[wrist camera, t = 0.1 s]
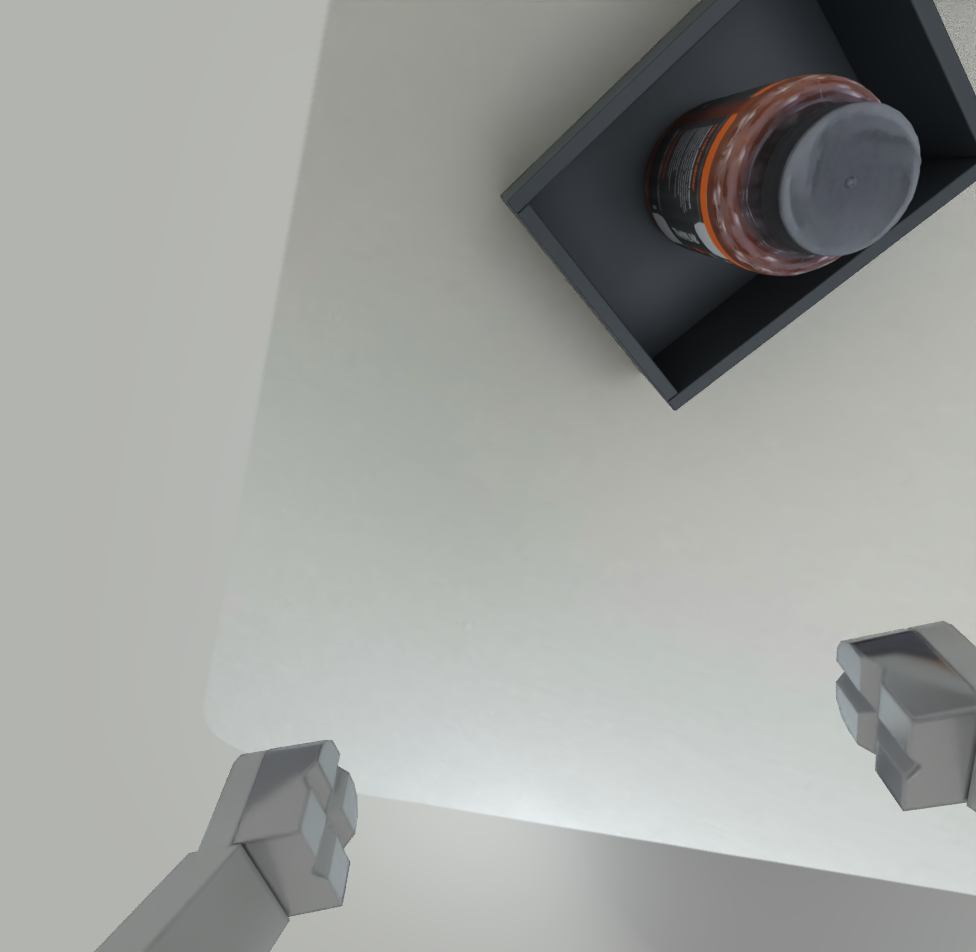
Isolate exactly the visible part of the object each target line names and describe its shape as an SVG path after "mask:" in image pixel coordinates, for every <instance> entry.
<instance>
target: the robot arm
mask: <svg viewBox="0 0 976 952" xmlns="http://www.w3.org/2000/svg"><path fill="white" fill-rule="evenodd" d="M836 661H837V662H838V663H839V665H840V666H841V667H842V669H843V670H844V673H843V674H842V675H841V676H840V678H839V679H838V680H837V681H836V699H837V703H838V706H839V710H840V713H841V716H842V718H843V720H844V722H845V725H846V727H847V729H848V730H849V732H850V734H851V735H852V737H853V738H854V740H855V741H856V743H857V744H858V745H860V746H861V747H863V748H865V749H867V750H868V751H870V752H872V753H874V754H876V765H875V771H876V772H877V774H878V775H879V777H880V778H881V779H882V781H883V782H884V784H885V785H886V787H887V788H888V790H889V791H890V793H891V794H892V795H893V797H894V798H895V800H896V801H897V803H898V804H899V806H900V807H901V809H902V810H903V811H909V810H916V809H923V808H930V807H937V806H945V805H952V804H959V803H966V802H967V806H968V807H969V808H971V809H972V810H974V811H975V812H976V646H974V645H973V644H972V643H971V642H970V641H969V640H968V639H967V638H966V637H965V636H964V635H963V634H961V633H960V632H959V631H958V630H957V629H956V628H955V627H954V626H953V625H951V624H949V623H947V622H944V621H940V622H935V623H930V624H925V625H920V626H915V627H910V628H908V629H899V630H894V631H889V632H884V633H879V634H874V635H869V636H864V637H860V638H855V639H850V640H845V641H841V642H840V643H839V645H838V647H837V659H836ZM339 757H340V753H339V751H338V749H337V747H336V746H335V744H334V742H333V740H323V741H317V742H311V743H305V744H298V745H292V746H286V747H280V748H274V749H270V750H265V751H259V752H253V753H247V754H242V755H240V756H239V758H238V759H237V760H236V761H235V762H234V763H233V766H232V768H231V770H230V773H229V775H228V778H227V780H226V783H225V785H224V788H223V790H222V793H221V795H220V798H219V800H218V803H217V805H216V807H215V810H214V812H213V815H212V818H211V820H210V822H209V825H208V827H207V830H206V832H205V835H204V837H203V840H202V842H201V845H200V847H199V850H198V851H197V852H192V853H189V854H188V855H187V856H186V857H185V858H184V859H183V860H182V861H181V862H180V863H179V864H178V865H177V866H176V867H175V868H174V869H173V870H172V871H171V872H170V874H168V875H167V876H166V878H165V879H164V880H163V881H162V882H161V883H160V884H159V885H158V886H157V887H156V888H155V889H154V890H153V891H152V892H151V893H150V894H149V895H148V896H147V897H146V898H145V899H144V900H143V901H142V903H141V904H140V905H139V906H138V907H137V908H136V909H135V910H134V911H133V912H132V913H131V914H130V915H129V916H128V917H127V919H125V920H124V921H123V922H122V923H121V925H119V926H118V928H117V929H116V930H115V931H114V932H113V933H112V934H111V935H110V936H109V937H108V938H107V939H106V940H105V941H104V942H103V943H102V944H101V945H100V946H99V948H97V949H96V950H95V951H94V952H270V950H271V949H272V947H273V946H274V944H275V943H276V941H277V939H278V938H279V936H280V935H281V933H282V932H283V930H284V928H285V927H286V925H287V924H288V922H289V917H290V916H295V915H300V914H304V913H310V912H315V911H320V910H325V909H330V908H335V907H340V906H342V905H343V899H344V893H345V888H346V882H347V877H348V871H349V866H350V861H349V859H348V857H347V855H346V853H345V851H344V847H345V846H346V845H347V844H348V842H349V841H350V840H351V838H352V837H353V836H354V834H355V830H356V823H357V818H358V808H357V794H356V790H355V785H354V782H353V780H352V778H351V776H350V773H349V772H347V771H346V770H344V769H342V768H340V767H338V762H339Z"/></svg>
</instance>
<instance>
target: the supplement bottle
mask: <svg viewBox="0 0 976 952" xmlns="http://www.w3.org/2000/svg"><path fill="white" fill-rule="evenodd" d="M920 165H921V156H920V145H919V140H918V136H917V135H916V133H915V131H914V128H913V127H912V125H911V123H910V122H909V121H908V120H907V119H906V118H905V116H904V115H903V114H902V113H901V112H900V111H898V110H896V109H894V108H892V107H890V106H889V105H887V104H884V103H881V102H880V100H879V99H878V98H877V97H876V96H875V95H874V94H873V93H872V92H871V91H869V90H868V89H866V88H865V87H864V86H863V85H861V84H860V83H858V82H856V81H853V80H850V79H849V78H845V77H841V76H837V75H830V74H809V75H802V76H797V77H793V78H789V79H785V80H781V81H778V82H774V83H771V84H767V85H763V86H760V87H756V88H752V89H749V90H746V91H743V92H739V93H735V94H731V95H729V96H725V97H722V98H718V99H715V100H711V101H708V102H705V103H702V104H701V105H699V106H697V107H695V108H693V109H691V110H689V111H688V112H686V113H684V114H683V115H682V116H680V117H679V118H678V119H677V120H676V121H674V122H673V123H672V124H671V125H670V126H669V128H668V129H667V130H666V131H665V132H664V133H663V135H662V136H661V138H660V139H659V141H658V142H657V144H656V146H655V148H654V150H653V153H652V155H651V158H650V160H649V164H648V168H647V172H646V180H645V194H646V202H647V206H648V209H649V212H650V214H651V217H652V219H653V221H654V223H655V225H656V226H657V227H658V228H659V230H660V231H661V232H662V233H663V234H664V235H665V236H666V237H667V238H668V239H670V240H671V241H672V242H674V243H676V244H677V245H679V246H682V247H684V248H686V249H688V250H690V251H694V252H697V253H699V254H702V255H706V256H709V257H712V258H716V259H718V260H721V261H724V262H726V263H729V264H733V265H735V266H738V267H741V268H744V269H747V270H750V271H754V272H757V273H761V274H766V275H776V276H796V275H799V274H802V273H807V272H809V271H813V270H816V269H818V268H821V267H823V266H825V265H828V264H829V263H831V262H833V261H835V260H836V259H838V258H839V257H841V256H843V255H848V254H852V253H855V252H857V251H860V250H862V249H864V248H866V247H868V246H870V245H872V244H873V243H875V242H876V241H878V240H879V239H880V238H882V237H883V236H884V235H885V234H886V233H887V232H888V231H889V230H890V229H891V228H892V227H893V226H894V225H895V224H896V223H897V222H898V221H899V219H900V218H901V217H902V215H903V214H904V212H905V211H906V209H907V207H908V205H909V203H910V202H911V200H912V198H913V196H914V193H915V190H916V187H917V183H918V178H919V173H920Z"/></svg>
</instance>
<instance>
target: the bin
mask: <svg viewBox="0 0 976 952" xmlns="http://www.w3.org/2000/svg"><path fill="white" fill-rule="evenodd" d="M809 74H830V75H837V76H841V77H845V78H849V79H850V80H853V81H856V82H858V83H860V84H861V85H863V86H864V87H865V88H866V89H868V90H869V91H871V92H872V93H873V94H874V95H875V96H876V97H877V98H878V99H879V100H880V102H881V103H884V104H887V105H889V106H890V107H892V108H894V109H896V110H898V111H900V112H901V113H902V114H903V115H904V116H905V118H906V119H907V120H908V121H909V122H910V123H911V125H912V127H913V128H914V131H915V133H916V135H917V136H918V140H919V145H920V156H921V165H920V173H919V178H918V183H917V187H916V190H915V193H914V196H913V198H912V200H911V202H910V203H909V205H908V207H907V209H906V211H905V212H904V214H903V215H902V217H901V218H900V219H899V221H898V222H897V223H896V224H895V225H894V226H893V227H892V228H891V229H890V230H889V231H888V232H887V233H886V234H885V235H884V236H883V237H882V238H880V239H879V240H878V241H876V242H875V243H873V244H872V245H870V246H868V247H866V248H864V249H862V250H860V251H857V252H855V253H852V254H848V255H843V256H841V257H839V258H838V259H836V260H835V261H833V262H831V263H829V264H828V265H825V266H823V267H821V268H818V269H816V270H813V271H809V272H807V273H802V274H799V275H796V276H776V275H766V274H761V273H757V272H754V271H750V270H747V269H744V268H741V267H738V266H735V265H733V264H729V263H726V262H724V261H721V260H718V259H716V258H712V257H709V256H706V255H702V254H699V253H697V252H694V251H690V250H688V249H686V248H684V247H682V246H679V245H677V244H676V243H674V242H672V241H671V240H670V239H668V238H667V237H666V236H665V235H664V234H663V233H662V232H661V231H660V230H659V228H658V227H657V226H656V225H655V223H654V221H653V219H652V217H651V214H650V212H649V209H648V206H647V202H646V194H645V180H646V172H647V168H648V164H649V160H650V158H651V155H652V153H653V150H654V148H655V146H656V144H657V142H658V141H659V139H660V138H661V136H662V135H663V133H664V132H665V131H666V130H667V129H668V128H669V126H670V125H671V124H672V123H673V122H674V121H676V120H677V119H678V118H679V117H680V116H682V115H683V114H684V113H686V112H688V111H689V110H691V109H693V108H695V107H697V106H699V105H701V104H702V103H705V102H708V101H711V100H715V99H718V98H722V97H725V96H729V95H731V94H735V93H739V92H743V91H746V90H749V89H752V88H756V87H760V86H763V85H767V84H771V83H774V82H778V81H781V80H785V79H789V78H793V77H797V76H802V75H809ZM975 181H976V95H975V93H974V91H973V88H972V86H971V84H970V82H969V80H968V77H967V75H966V73H965V71H964V68H963V66H962V64H961V62H960V60H959V57H958V55H957V53H956V51H955V48H954V46H953V44H952V42H951V40H950V37H949V35H948V33H947V31H946V28H945V26H944V24H943V22H942V20H941V17H940V15H939V13H938V11H937V8H936V6H935V4H934V2H933V0H701V1H700V2H699V3H698V4H697V5H696V6H695V7H694V8H693V9H692V10H691V11H690V12H689V13H688V14H687V15H686V16H685V17H684V18H683V19H682V20H681V21H680V22H679V23H678V24H677V25H676V26H675V27H674V28H673V29H672V30H670V31H669V32H668V33H667V34H666V35H665V36H664V37H663V38H662V39H661V40H660V41H659V42H658V43H657V44H656V45H655V46H654V47H653V48H652V49H651V50H650V51H649V52H648V53H647V54H646V55H645V56H644V57H643V58H642V59H641V60H640V61H639V62H637V63H636V64H635V65H634V66H633V67H632V68H631V69H630V70H629V71H628V72H627V73H626V74H625V75H624V76H623V77H622V78H621V79H620V80H619V81H618V82H617V83H616V84H615V85H614V86H613V87H612V88H611V89H610V90H609V91H608V92H607V93H606V94H605V95H603V96H602V97H601V98H600V99H599V100H598V101H597V102H596V103H595V104H594V105H593V106H592V107H591V108H590V109H589V110H588V111H587V112H586V113H585V114H584V115H583V116H582V117H581V118H580V119H579V120H578V121H577V122H576V123H575V124H574V125H573V126H572V127H570V128H569V129H568V130H567V131H566V132H565V133H564V134H563V135H562V136H561V137H560V138H559V139H558V140H557V141H556V142H555V143H554V144H553V145H552V146H551V147H550V148H549V149H548V150H547V151H546V152H545V153H544V154H543V155H542V156H541V157H540V158H539V159H537V160H536V161H535V162H534V163H533V164H532V165H531V166H530V167H529V168H528V169H527V170H526V171H525V172H524V173H523V174H522V175H521V176H520V177H519V178H518V179H517V180H516V181H515V182H514V183H513V184H512V185H511V186H510V187H509V188H508V189H507V190H506V191H504V192H503V193H502V194H501V198H502V200H503V201H504V202H505V203H506V204H507V206H508V207H509V208H510V209H511V211H512V212H513V213H514V214H515V216H516V217H517V218H518V219H519V221H520V222H521V223H522V224H523V226H524V227H525V228H526V229H527V231H528V232H529V233H530V234H531V236H532V237H533V238H534V239H535V241H536V242H537V243H538V244H539V246H540V247H541V248H542V249H543V251H544V252H545V253H546V254H547V255H548V257H549V258H550V259H551V260H552V262H553V263H554V264H555V265H556V267H557V268H558V269H559V270H560V272H561V273H562V274H563V275H564V277H565V278H566V279H567V280H568V282H569V283H570V284H571V285H572V287H573V288H574V289H575V290H576V292H577V293H578V294H579V295H580V297H581V298H582V299H583V300H584V302H585V303H586V304H587V305H588V307H589V308H590V309H591V310H592V311H593V313H594V314H595V315H596V316H597V318H598V319H599V320H600V321H601V323H602V324H603V325H604V326H605V328H606V329H607V330H608V331H609V333H610V334H611V335H612V336H613V338H614V339H615V340H616V341H617V343H618V344H619V345H620V346H621V348H622V349H623V350H624V351H625V353H626V354H627V355H628V356H629V358H630V359H631V360H632V361H633V362H634V364H635V365H636V366H637V367H638V369H639V370H640V371H641V372H642V374H643V375H644V376H645V377H646V378H647V380H648V381H649V382H650V383H651V384H652V385H653V387H654V388H655V389H656V390H657V391H658V392H659V394H660V395H661V396H662V397H663V398H664V399H665V400H666V402H667V403H668V404H669V405H670V406H671V407H672V409H673V410H677V409H678V408H680V407H681V406H682V405H684V404H685V403H686V402H688V401H689V400H690V399H692V398H693V397H694V396H695V395H697V394H698V393H699V392H701V391H702V390H703V389H705V388H706V387H707V386H709V385H710V384H711V383H712V382H714V381H715V380H716V379H718V378H719V377H720V376H722V375H723V374H724V373H726V372H727V371H728V370H729V369H731V368H732V367H733V366H735V365H736V364H737V363H739V362H740V361H741V360H743V359H744V358H745V357H746V356H748V355H749V354H750V353H752V352H753V351H754V350H756V349H757V348H758V347H760V346H761V345H762V344H763V343H765V342H766V341H767V340H769V339H770V338H771V337H773V336H774V335H775V334H777V333H778V332H779V331H780V330H782V329H783V328H784V327H786V326H787V325H788V324H790V323H791V322H792V321H793V320H795V319H796V318H797V317H799V316H800V315H801V314H803V313H804V312H805V311H807V310H808V309H809V308H810V307H812V306H813V305H814V304H816V303H817V302H818V301H820V300H821V299H822V298H824V297H825V296H826V295H827V294H829V293H830V292H831V291H833V290H834V289H835V288H837V287H838V286H839V285H841V284H842V283H843V282H844V281H846V280H847V279H848V278H850V277H851V276H852V275H854V274H855V273H856V272H858V271H859V270H860V269H861V268H863V267H864V266H865V265H867V264H868V263H869V262H871V261H872V260H873V259H875V258H876V257H877V256H878V255H880V254H881V253H882V252H884V251H885V250H886V249H888V248H889V247H890V246H892V245H893V244H894V243H895V242H897V241H898V240H899V239H901V238H902V237H903V236H905V235H906V234H907V233H909V232H910V231H911V230H912V229H914V228H915V227H916V226H918V225H919V224H920V223H922V222H923V221H924V220H926V219H927V218H928V217H929V216H931V215H932V214H933V213H935V212H936V211H937V210H939V209H940V208H941V207H943V206H944V205H945V204H946V203H948V202H949V201H950V200H952V199H953V198H954V197H956V196H957V195H958V194H960V193H961V192H962V191H963V190H965V189H966V188H967V187H969V186H970V185H971V184H973V183H974V182H975Z"/></svg>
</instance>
